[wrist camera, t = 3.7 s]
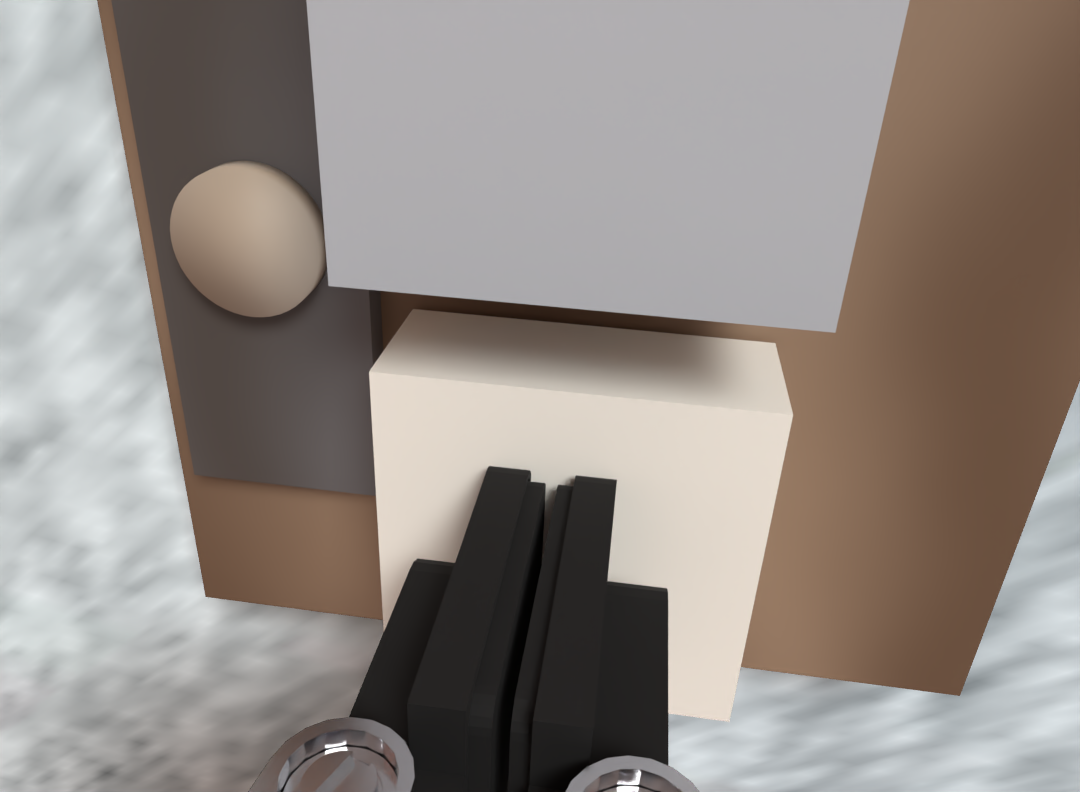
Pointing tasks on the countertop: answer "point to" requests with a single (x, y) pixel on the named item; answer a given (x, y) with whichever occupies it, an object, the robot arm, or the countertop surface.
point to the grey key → (602, 150)
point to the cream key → (593, 461)
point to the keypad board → (805, 356)
